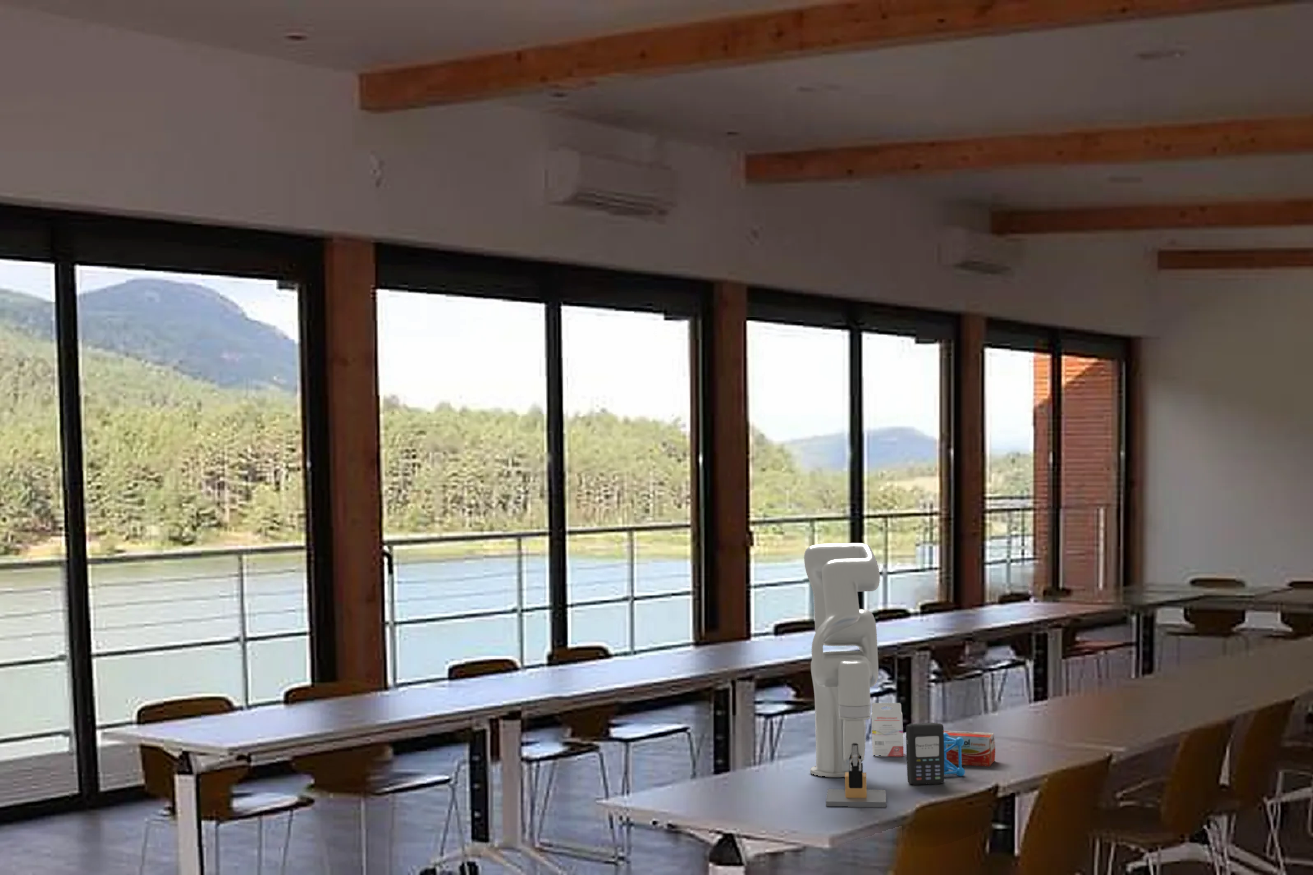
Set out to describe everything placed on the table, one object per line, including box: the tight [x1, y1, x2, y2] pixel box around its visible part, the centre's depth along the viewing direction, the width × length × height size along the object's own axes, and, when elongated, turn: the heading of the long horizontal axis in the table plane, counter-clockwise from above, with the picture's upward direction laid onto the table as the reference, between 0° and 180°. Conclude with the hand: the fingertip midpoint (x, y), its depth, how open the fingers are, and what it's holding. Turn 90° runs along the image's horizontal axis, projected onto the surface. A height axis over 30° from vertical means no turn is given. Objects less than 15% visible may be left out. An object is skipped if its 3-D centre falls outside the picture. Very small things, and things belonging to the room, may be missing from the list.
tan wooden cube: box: [844, 772, 868, 798], centre depth 367 cm, size 5×5×5 cm
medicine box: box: [944, 730, 996, 768], centre depth 412 cm, size 15×8×8 cm, turn 70°
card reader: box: [905, 722, 945, 786], centre depth 385 cm, size 9×4×15 cm, turn 99°
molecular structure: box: [944, 733, 966, 777], centre depth 396 cm, size 10×10×10 cm
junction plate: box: [825, 788, 887, 808], centre depth 367 cm, size 14×14×5 cm
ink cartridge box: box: [870, 702, 904, 758], centre depth 425 cm, size 9×5×15 cm, turn 81°
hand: (856, 783), depth 367 cm, fingers open, 9 cm apart
